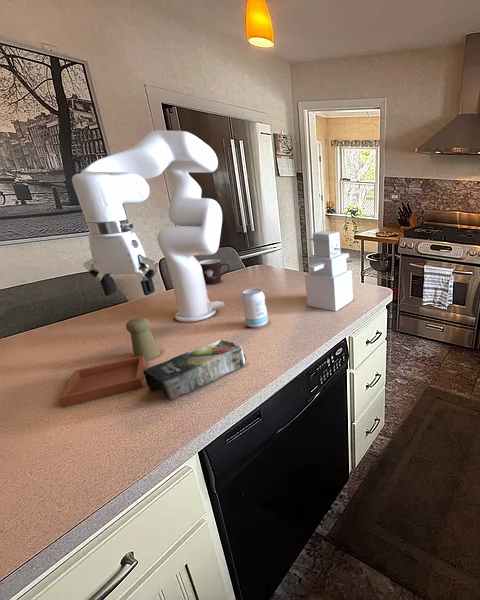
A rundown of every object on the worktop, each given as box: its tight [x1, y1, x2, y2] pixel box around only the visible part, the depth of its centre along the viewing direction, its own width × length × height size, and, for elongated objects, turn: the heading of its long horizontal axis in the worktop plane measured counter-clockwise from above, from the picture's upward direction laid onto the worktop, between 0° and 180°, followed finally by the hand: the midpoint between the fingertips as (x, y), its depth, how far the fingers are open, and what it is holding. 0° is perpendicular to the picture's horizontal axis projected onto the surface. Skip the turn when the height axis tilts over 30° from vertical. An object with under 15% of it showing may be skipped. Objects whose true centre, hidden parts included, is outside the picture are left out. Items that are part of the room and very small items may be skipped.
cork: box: [125, 317, 161, 361], centre depth 89 cm, size 6×6×11 cm
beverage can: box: [241, 288, 269, 329], centre depth 108 cm, size 7×7×12 cm
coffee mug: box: [198, 259, 231, 285], centre depth 151 cm, size 12×9×10 cm
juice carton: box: [143, 338, 247, 401], centre depth 81 cm, size 20×10×6 cm, turn 149°
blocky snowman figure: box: [304, 230, 354, 312], centre depth 125 cm, size 13×24×28 cm, turn 158°
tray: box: [60, 355, 147, 408], centre depth 79 cm, size 14×13×2 cm
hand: (130, 293), depth 85 cm, fingers open, 9 cm apart
